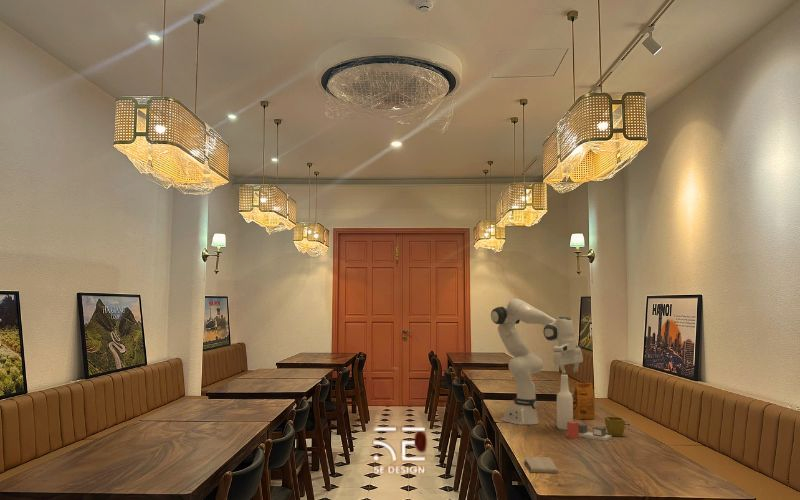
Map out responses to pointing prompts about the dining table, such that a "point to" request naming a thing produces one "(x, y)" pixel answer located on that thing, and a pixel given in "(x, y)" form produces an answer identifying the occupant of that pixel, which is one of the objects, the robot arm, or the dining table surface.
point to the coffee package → (583, 401)
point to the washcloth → (541, 464)
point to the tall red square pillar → (572, 430)
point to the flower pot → (615, 425)
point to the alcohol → (564, 404)
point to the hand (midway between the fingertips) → (569, 372)
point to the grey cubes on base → (597, 432)
